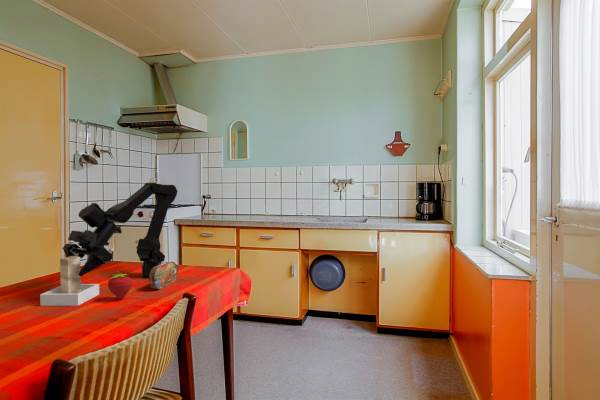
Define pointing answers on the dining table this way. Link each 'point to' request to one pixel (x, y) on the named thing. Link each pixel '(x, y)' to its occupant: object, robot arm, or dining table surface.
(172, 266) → the tin
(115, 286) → the strawberry
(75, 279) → the birch block
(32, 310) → the dining table surface
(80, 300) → the box
